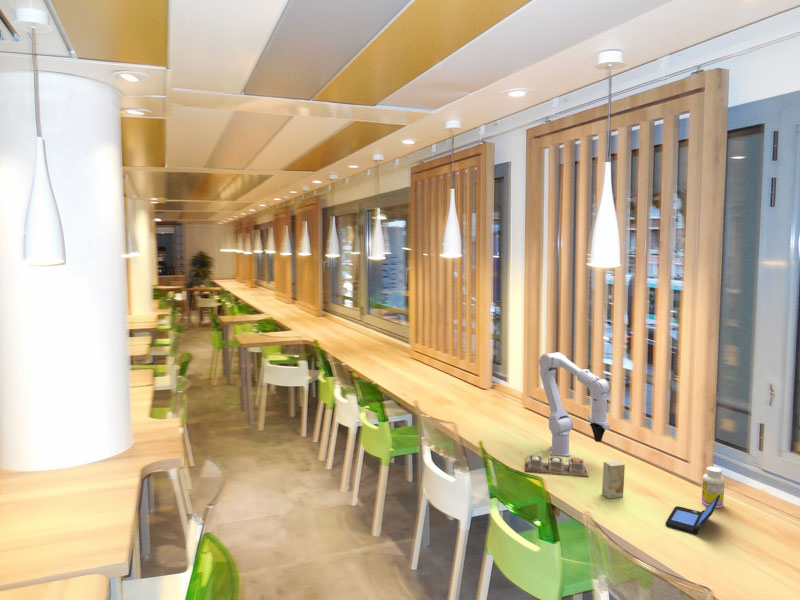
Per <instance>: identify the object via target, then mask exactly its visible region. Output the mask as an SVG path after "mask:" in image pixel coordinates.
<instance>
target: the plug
mask: <svg viewBox="0 0 800 600" xmlns="http://www.w3.org/2000/svg"><path fill="white" fill-rule="evenodd" d="M537 456H538V455H533V457H532V460H539V457H537Z"/></svg>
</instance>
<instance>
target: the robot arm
mask: <svg viewBox="0 0 800 600" xmlns="http://www.w3.org/2000/svg"><path fill="white" fill-rule="evenodd" d="M538 364H539V375H540V379H541V382H542V386H543V389H544V394H545V396H546V399H547V400H546V401H547V404H548V406H549V410H550V413H549V416H547V417H548V419H547V420H548V429H549V431H550V433H551V446H550V447H549V449H550V454H551V456H562V457H571V452H570V433H571V430H572V429H573V427H574V422H573V420H572V419H571V416H570V414H569V412H568V411H566V410H565V409H564V407H563V402H562V400H561V397H560V393H559V389H558V386H557V382H556V379H555V376H554V375H555V373H556V371H557V370H558V369H559V368H562V369H564V370H566V371H567V372H569V373H571V374H572V375H573V376H575V377H576V380H577V381H578V382H579V383H581V384H582V385H583V386H585V387H587V388H588V390H589V393H590V394H591V413H589V414H588V417H587V419H588V422H589V426H590V427H591V430H592V434H593V439H594V441H595V442H596V443H599V442H600V443H601V442H602V440H603V437H604V434H605V432H606V431H607V430H609V431H610V428H611V427H610V424H609V422H608V420H607V404H608V403H607V402H608V393H609V391H610V389H611V384H610V382H609V381H608V380H607V379H606V378H600V377H599V376H596V375H595V374H593V373H592V372H591V370H590V369H582V368H580V367H578V366H577V365H576V364H575V363H573V362H572V361H571V360H569V359H568V358H567V356H566V355H565V354H562V353H561V352H559V351H556V352H555V351H554V352H551V353H544V354H542V355H540V358H539V359H538Z"/></svg>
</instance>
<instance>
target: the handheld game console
mask: <svg viewBox="0 0 800 600" xmlns="http://www.w3.org/2000/svg"><path fill="white" fill-rule="evenodd" d="M719 498H720V495H718V496H717V497H716V498H715V499H714V501H713V502H712V503H711V504H710V505H709V506H707V507H706V508H705V509H704V510H703V509H702V510H701V511H699V510H694V509H691V508H686V507H683V506H679V505H675V506H674V508H673V509H672V511H671V512H670V515H669V516H668V518H667V519H666V521H665V526H666V527H668V528H670V527H671V529H674V530H677V529H678V530H677V531H681V532H684V533H688V534H692V535H694V536H697V535H698V532H699V529H700V528H701V526H703V525H704V523H706V522H707V520H708V519H709V518H710V517H711V516H712V515H713V514H714V511H715V509H716V508H715V507H716V505H717V503H718V501H719Z"/></svg>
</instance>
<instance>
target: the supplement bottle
mask: <svg viewBox="0 0 800 600" xmlns="http://www.w3.org/2000/svg"><path fill="white" fill-rule="evenodd" d="M705 471H706V473H705V474H703V476H702V490H701V502H702V504H703V505H705V506H707V507H708V506H709V505H710V504H711V503H712V502H713V501H714V499H715V498H716V497H717V496H718V495H720V498H719V501H718V503H717V505H716V507H715V509H720V508H722V507H723V506H724V502H725V501H724V499H725V498H724V497H725V496H724V495H725V478H724V476H722V474H723V472H722V471H723V470H722V469H721V468H720V467H717V466H707V467H706V470H705Z"/></svg>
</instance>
